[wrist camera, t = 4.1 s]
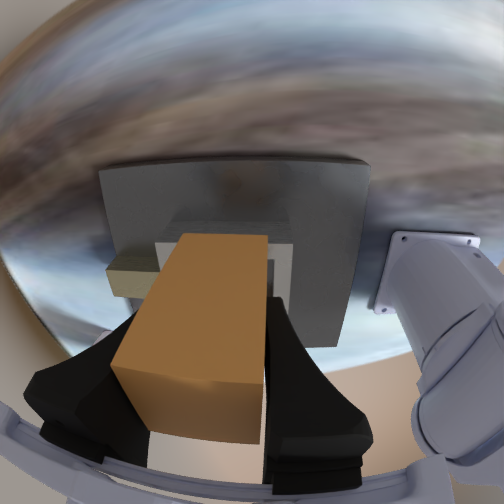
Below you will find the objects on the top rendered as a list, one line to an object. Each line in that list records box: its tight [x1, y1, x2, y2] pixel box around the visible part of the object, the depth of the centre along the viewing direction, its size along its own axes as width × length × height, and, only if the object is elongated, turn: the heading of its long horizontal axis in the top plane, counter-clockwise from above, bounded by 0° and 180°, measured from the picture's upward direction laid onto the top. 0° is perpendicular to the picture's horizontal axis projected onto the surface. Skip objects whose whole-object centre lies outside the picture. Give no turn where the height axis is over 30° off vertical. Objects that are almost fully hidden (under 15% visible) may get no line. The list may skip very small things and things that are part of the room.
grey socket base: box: [98, 156, 371, 348], centre depth 20 cm, size 18×16×4 cm
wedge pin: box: [110, 233, 268, 444], centre depth 11 cm, size 4×4×8 cm
